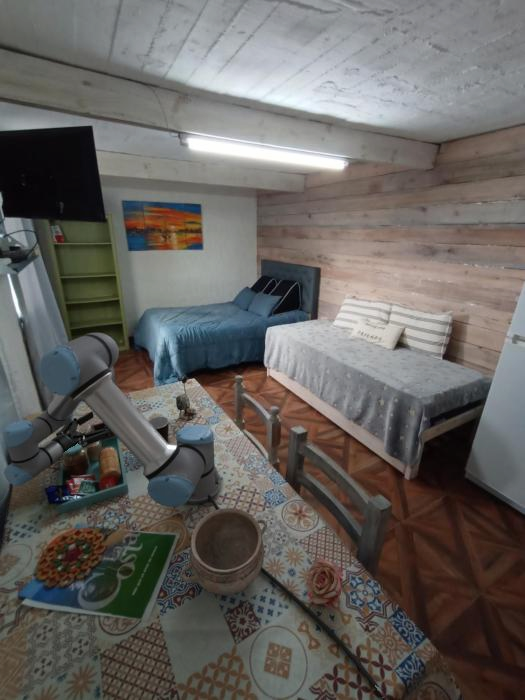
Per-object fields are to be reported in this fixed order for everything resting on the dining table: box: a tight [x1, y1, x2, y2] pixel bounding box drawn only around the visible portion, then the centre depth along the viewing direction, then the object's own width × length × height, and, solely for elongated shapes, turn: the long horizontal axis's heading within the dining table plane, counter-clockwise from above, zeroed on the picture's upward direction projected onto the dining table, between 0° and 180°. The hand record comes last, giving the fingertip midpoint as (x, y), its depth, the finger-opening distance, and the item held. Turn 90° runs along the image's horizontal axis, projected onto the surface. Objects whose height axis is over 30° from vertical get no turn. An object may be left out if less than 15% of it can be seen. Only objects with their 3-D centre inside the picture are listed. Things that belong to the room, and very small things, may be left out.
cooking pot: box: [179, 507, 268, 596], centre depth 81 cm, size 25×19×12 cm
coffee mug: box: [148, 415, 170, 443], centre depth 131 cm, size 12×9×10 cm
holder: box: [90, 421, 116, 439], centre depth 138 cm, size 8×16×3 cm, turn 124°
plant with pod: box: [175, 374, 198, 421], centre depth 147 cm, size 8×11×20 cm
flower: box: [306, 557, 344, 609], centre depth 77 cm, size 10×9×8 cm
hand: (105, 417), depth 130 cm, fingers open, 13 cm apart
